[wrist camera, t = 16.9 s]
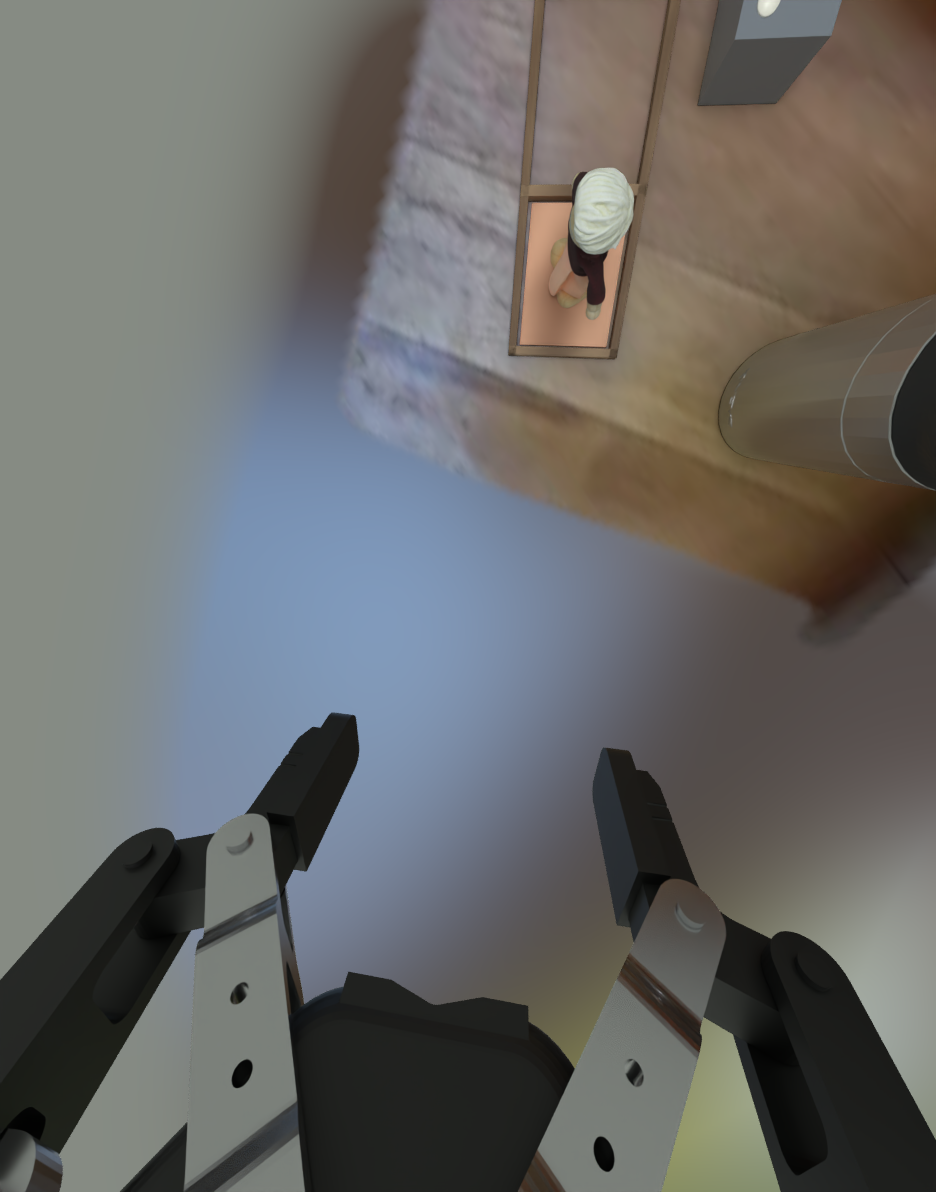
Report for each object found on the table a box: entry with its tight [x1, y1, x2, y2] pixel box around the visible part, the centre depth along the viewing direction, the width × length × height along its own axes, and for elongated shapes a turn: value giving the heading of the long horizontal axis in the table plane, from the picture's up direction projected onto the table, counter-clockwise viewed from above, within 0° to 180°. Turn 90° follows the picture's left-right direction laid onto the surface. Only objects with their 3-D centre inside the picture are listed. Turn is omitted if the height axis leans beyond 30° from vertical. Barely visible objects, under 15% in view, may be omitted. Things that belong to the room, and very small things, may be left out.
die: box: [698, 0, 842, 105], centre depth 22 cm, size 5×5×5 cm
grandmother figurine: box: [549, 168, 634, 320], centre depth 25 cm, size 8×4×13 cm, turn 26°
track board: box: [508, 0, 681, 359], centre depth 26 cm, size 9×31×1 cm, turn 178°
